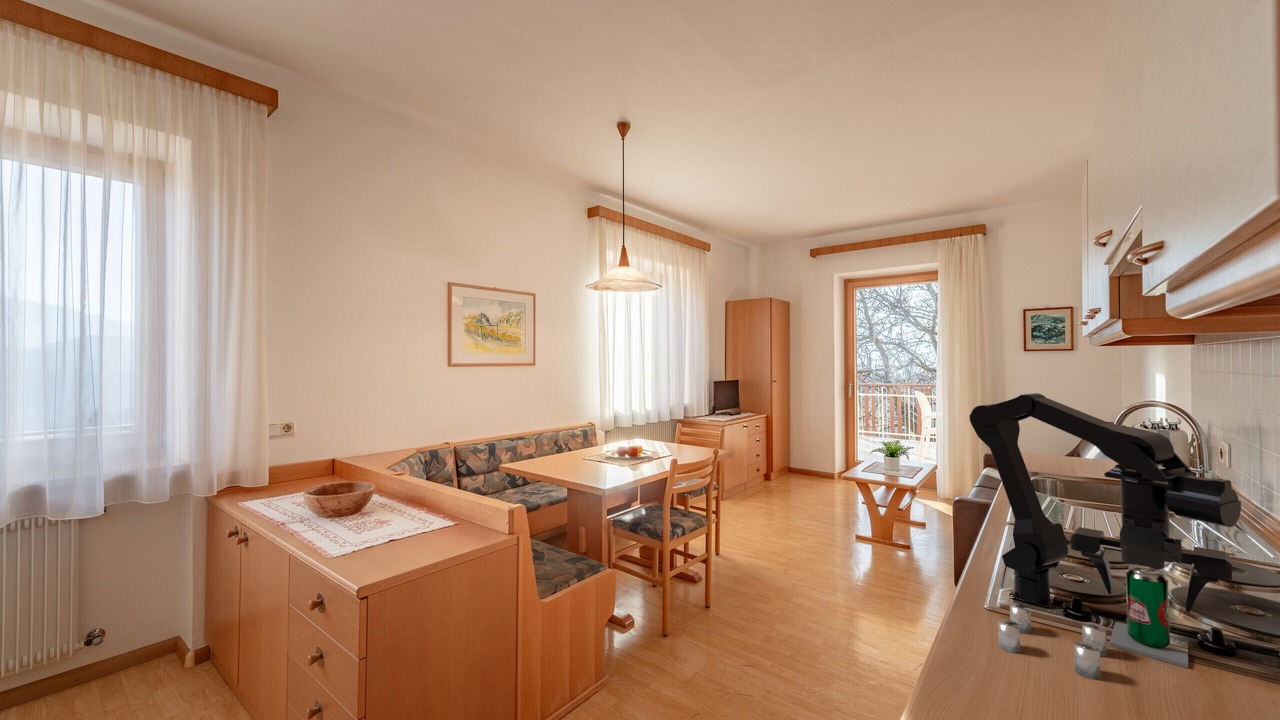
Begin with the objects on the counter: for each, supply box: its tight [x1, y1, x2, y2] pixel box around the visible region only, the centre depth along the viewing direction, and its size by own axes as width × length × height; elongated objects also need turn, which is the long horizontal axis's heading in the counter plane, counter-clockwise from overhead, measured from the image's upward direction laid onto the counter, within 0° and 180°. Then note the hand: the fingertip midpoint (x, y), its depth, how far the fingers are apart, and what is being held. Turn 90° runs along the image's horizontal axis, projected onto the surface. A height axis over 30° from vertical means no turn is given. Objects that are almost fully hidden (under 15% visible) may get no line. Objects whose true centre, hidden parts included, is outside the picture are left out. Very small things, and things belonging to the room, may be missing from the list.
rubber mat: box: [1108, 621, 1190, 669], centre depth 86 cm, size 9×9×1 cm
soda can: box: [1125, 564, 1171, 648], centre depth 86 cm, size 5×5×12 cm
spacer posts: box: [997, 602, 1108, 680], centre depth 86 cm, size 11×13×4 cm
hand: (1147, 602), depth 86 cm, fingers open, 9 cm apart
